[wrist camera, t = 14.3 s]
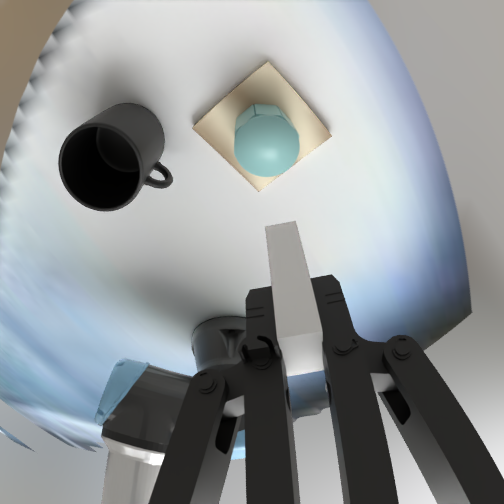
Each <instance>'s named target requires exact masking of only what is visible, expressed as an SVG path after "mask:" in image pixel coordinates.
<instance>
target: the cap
mask: <svg viewBox="0 0 504 504" xmlns="http://www.w3.org/2000/svg"><path fill="white" fill-rule="evenodd" d="M299 150H300V143H299V133H298V132H297V130H296V128H295V127H294V125H293V123H292V122H291V120H290V119H289V118H288V117H287V116H286V115H285V113H284V112H283V111H282V110H281V109H280V108H279V107H278V106H276V105H268V104H254V105H251V106H250V107H249V108H248V109H247V110H245V111H244V112H243V113H242V114H241V115H239V116H238V117H237V119H236V125H235V139H234V155H235V157H236V159H237V161H238V162H239V164H240V165H241V166H242V167H243V168H244V169H245V170H246V171H248V172H249V173H251V174H253V175H256V176H260V177H272V176H277V175H279V174H282V173H284V172H285V171H287V170H288V169H289V168H290V167H291V166H292V165H293V164H294V163H295V161H296V159H297V157H298V154H299Z"/></svg>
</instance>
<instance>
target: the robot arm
mask: <svg viewBox="0 0 504 504" xmlns="http://www.w3.org/2000/svg"><path fill="white" fill-rule="evenodd" d="M265 229H266V238H267V247H268V256H269V265H270V275H271V284H272V286H269V287H264V288H258V289H252V290H250V291H249V293H248V295H247V297H246V318H241V317H220V318H215V319H211V320H208V321H206V322H204V323H202V324H201V325H199V326H198V327H197V328H196V329H195V331H194V333H193V337H192V351H193V354H194V356H195V360H196V366H197V370H198V373H197V374H195V375H194V376H193V377H192V376H188V375H184V374H180V373H176V372H173V371H169V370H166V369H162V368H159V367H156V366H153V365H149V364H150V363H143V362H139V361H135V360H131V359H121V360H119V361H118V362H117V363H116V365H115V366H114V369H113V371H112V373H111V375H110V378H109V380H108V382H107V385H106V387H105V390H104V392H103V395H102V398H101V401H100V404H99V407H98V410H97V413H96V415H95V422H96V423H97V424H98V425H99V426H102V425H103V429H102V434H101V438H102V439H103V441H104V442H105V444H106V445H107V447H108V449H109V453H108V459H107V466H106V473H105V480H104V487H103V495H102V504H219V501H220V497H221V493H222V490H223V486H224V483H225V479H226V475H227V471H228V468H229V464H230V460H233V459H240V458H245V461H246V495H247V496H246V498H247V504H300V496H299V483H298V473H297V463H296V451H295V441H294V431H293V421H292V412H291V402H290V393H289V387H288V382H287V376H292V375H298V374H304V373H310V372H316V371H321V370H324V371H325V377H326V391H327V393H328V399H329V405H330V411H331V417H332V423H333V429H334V436H335V442H336V448H337V456H338V463H339V470H340V478H341V485H342V492H343V501H344V504H399V502H398V496H397V490H396V485H395V479H394V474H393V469H392V463H391V458H390V453H389V449H388V444H387V439H386V435H385V430H384V426H383V422H382V418H381V413H380V409H379V405H378V401H377V397H376V393H375V391H377V392H378V394H379V396H380V397H381V399H382V401H383V403H384V405H385V407H386V408H387V410H388V412H389V414H390V415H391V417H392V419H393V420H394V423H395V424H396V426H397V428H398V430H399V432H400V433H401V435H402V437H403V439H404V441H405V443H406V444H407V446H408V448H409V450H410V452H411V454H412V455H413V457H414V459H415V461H416V463H417V465H418V467H419V469H420V470H421V473H422V474H423V476H424V478H425V480H426V482H427V484H428V486H429V488H430V490H431V492H432V494H433V496H434V497H435V500H436V502H437V504H504V479H503V477H502V475H501V473H500V471H499V470H498V468H497V466H496V464H495V462H494V460H493V459H492V457H491V455H490V453H489V452H488V450H487V448H486V446H485V445H484V443H483V441H482V440H481V438H480V436H479V435H478V433H477V431H476V430H475V428H474V426H473V425H472V423H471V422H470V420H469V418H468V417H467V415H466V414H465V412H464V410H463V409H462V407H461V406H460V404H459V403H458V401H457V400H456V398H455V397H454V395H453V393H452V392H451V390H450V389H449V387H448V386H447V385H446V383H445V381H444V380H443V379H442V377H441V376H440V374H439V373H438V372H437V370H436V369H435V367H434V366H433V364H432V363H431V362H430V360H429V359H428V357H427V356H426V354H425V353H424V351H423V350H422V349H421V347H420V346H419V345H418V343H417V342H416V341H415V340H414V339H413V338H411V337H409V336H406V335H397V336H394V337H392V338H391V339H389V340H388V341H387V343H384V342H372V341H367V340H365V339H363V338H361V337H360V336H359V335H358V334H357V333H356V332H355V329H354V327H353V324H352V320H351V317H350V314H349V311H348V308H347V304H346V301H345V298H344V295H343V293H342V289H341V286H340V283H339V281H338V280H337V279H336V278H335V277H334V276H333V275H326V276H321V277H316V278H310V275H309V271H308V267H307V263H306V259H305V255H304V251H303V247H302V244H301V240H300V236H299V232H298V228H297V225H296V221H293V222H288V223H282V224H277V225H271V226H266V227H265Z"/></svg>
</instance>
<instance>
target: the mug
mask: <svg viewBox="0 0 504 504" xmlns="http://www.w3.org/2000/svg"><path fill="white" fill-rule="evenodd" d="M163 149H164V133H163V129H162V127H161V124H160V122H159V121H158V119H157V118H156V117H155V116H154V114H153V113H151V112H150V111H149V110H148V109H146V108H144V107H142V106H140V105H137V104H132V103H123V104H118V105H115V106H113V107H111V108H109V109H107V110H105V111H103V112H102V113H100V114H98V115H97V116H95V117H93V118H92V119H90V120H89V121H87V122H85V123H84V124H82V125H81V126H79V127H77V128H76V129H75V130H73V131H72V132H71V133H70V134H69V135H68V137H67V138H66V139H65V141H64V143H63V145H62V147H61V150H60V154H59V163H58V164H59V172H60V176H61V179H62V182H63V184H64V186H65V188H66V189H67V191H68V192H69V193H70V195H71V196H72V197H73V198H74V199H75V200H77V201H78V202H79V203H81V204H82V205H84V206H85V207H88V208H90V209H93V210H97V211H114V210H118V209H120V208H123V207H125V206H126V205H128V204H129V203H130V202H132V201H133V200H134V198H135V197H136V196H137V194H138V193H139V191H140V190H141V188H142V186H143V185H144V184H145V185H149V186H152V187H154V188H161V189H162V188H167V187H169V186H170V185H171V183H172V182H173V177H172V175H171V173H170V171H169V170H168V169H167V168H166V167H165V166H163V165H162V164H161V163H160V162H158V161H159V159H160V158H161V156H162V153H163ZM153 169H154V170H157V171H159V172H160V173H162V175H163V176H164V178H165V180H163V181H160V180H156V179H153V178H152V177H150V176H149V175H150V173H151V172H152V170H153Z"/></svg>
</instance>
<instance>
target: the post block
mask: <svg viewBox="0 0 504 504" xmlns="http://www.w3.org/2000/svg"><path fill="white" fill-rule="evenodd" d="M254 104H268V105H276V106H278V107H279V108H280V109H281V110H282V111H283V112H284V113H285V115H286V116H287V117H288V118H289V119H290V120H291V122H292V123H293V125H294V127H295V128H296V130H297V132H298V133H299V143H300V150H299V154H298V157H297V159H296V161H295V163H294V164H296V163H297V162H298V161H300V160H301V159H302V158H304V157H305V156H306V155H308V154H309V153H310V152H312V151H313V150H314V149H316V148H317V147H318V146H320V145H321V144H322V143H324V142H325V141H326V140H328V139H329V138H330V137H332V135H331V134H330V133H329V131H328V130H327V129H326V128H325V126H324V125H323V124H322V123H321V121H320V120H319V119H318V118H317V116H316V115H315V114H314V113H313V111H312V110H311V109H310V108H309V107H308V105H307V104H306V103H305V102H304V101H303V99H302V98H301V97H300V96H299V95H298V94H297V92H296V91H295V90H294V89H293V88H292V87H291V86H290V85H289V83H288V82H287V81H286V80H285V79H284V78H283V77H282V76H281V75H280V73H279V72H278V71H277V70H276V69H275V68H274V67H273V66H272V65H271V64H270V63H269V62H268V61H267V62H266V63H265V64H264V65H262V66H261V67H260V68H259V69H257V70H256V71H255V72H254V73H252V74H251V75H250V76H249V77H248V78H246V79H245V80H244V81H243V82H242V83H240V84H239V85H238V86H237V87H236V88H235V89H233V90H232V91H231V92H230V93H229V94H228V95H227V96H225V97H224V98H223V99H222V100H221V101H220V102H219V103H218V104H216V105H215V106H214V107H213V108H212V109H211V110H210V111H209V112H208V113H207V114H206V115H204V116H203V117H202V118H201V119H200V120H199V121H198V122H197V123H196V124H195V125H194V126H193V128H192V129H193V130H194V131H196V132H197V133H198V134H199V135H200V136H201V137H202V138H203V139H204V140H205V141H206V142H207V143H208V144H209V145H211V146H212V147H213V148H214V149H215V150H216V151H217V152H218V153H219V154H220V155H221V156H222V157H223V158H224V159H225V160H226V161H227V162H228V163H229V164H231V165H232V166H233V167H234V168H235V169H236V170H237V171H238V172H239V173H240V174H241V175H242V176H243V177H244V178H245V179H246V180H247V181H248V182H249V183H250V184H251V185H252V186H253V187H254V188H255V189H256V190H257V191H258V192H260V191H261V190H262V189H263V188H265V187H266V186H267V185H268V184H270V183H271V182H272V181H274V180H275V179H276V178H277V177H279V176H280V175H281V174H279V175H277V176H272V177H260V176H256V175H253V174H251V173H249V172H248V171H246V170H245V169H244V168H243V167H242V166H241V165H240V164H239V162H238V161H237V159H236V157H235V155H234V139H235V125H236V119H237V117H238V116H239V115H241V114H242V113H243V112H244V111H245V110H247V109H248V108H249V107H250V106H251V105H254ZM294 164H293V165H294ZM293 165H292V166H293ZM292 166H291V167H292ZM282 174H283V173H282Z"/></svg>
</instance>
